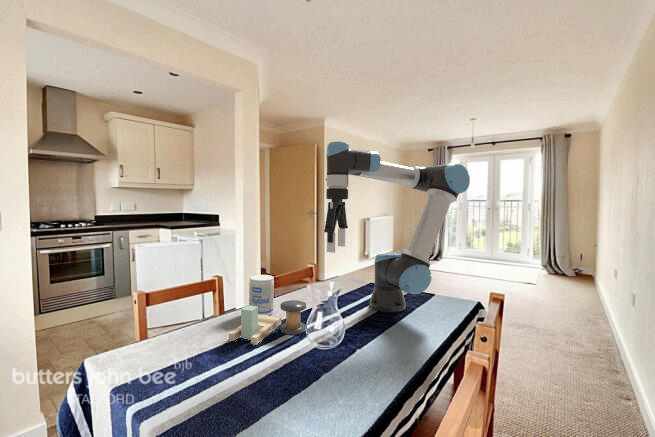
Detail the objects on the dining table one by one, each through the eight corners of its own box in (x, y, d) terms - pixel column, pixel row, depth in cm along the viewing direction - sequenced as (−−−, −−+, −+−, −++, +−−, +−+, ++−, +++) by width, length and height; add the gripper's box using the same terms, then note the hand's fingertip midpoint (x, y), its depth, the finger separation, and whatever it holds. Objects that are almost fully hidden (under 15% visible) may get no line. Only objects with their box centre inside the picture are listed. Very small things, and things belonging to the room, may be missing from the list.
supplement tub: (251, 319, 120) (251, 281, 119) (247, 311, 129) (247, 275, 128) (276, 316, 124) (276, 279, 123) (270, 308, 132) (270, 273, 131)
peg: (247, 334, 107) (247, 305, 106) (258, 335, 106) (258, 306, 105) (241, 339, 103) (241, 309, 103) (252, 340, 102) (251, 310, 101)
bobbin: (286, 322, 117) (286, 299, 116) (309, 326, 114) (309, 301, 114) (275, 332, 108) (275, 307, 108) (300, 336, 106) (300, 310, 105)
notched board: (257, 320, 119) (257, 314, 119) (281, 323, 116) (281, 317, 116) (228, 341, 102) (228, 333, 101) (256, 345, 99) (256, 338, 99)
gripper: (336, 188, 122) (335, 243, 123) (315, 186, 98) (314, 254, 99) (355, 189, 119) (354, 244, 121) (338, 186, 96) (337, 255, 97)
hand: (336, 249), depth 110 cm, fingers open, 13 cm apart
